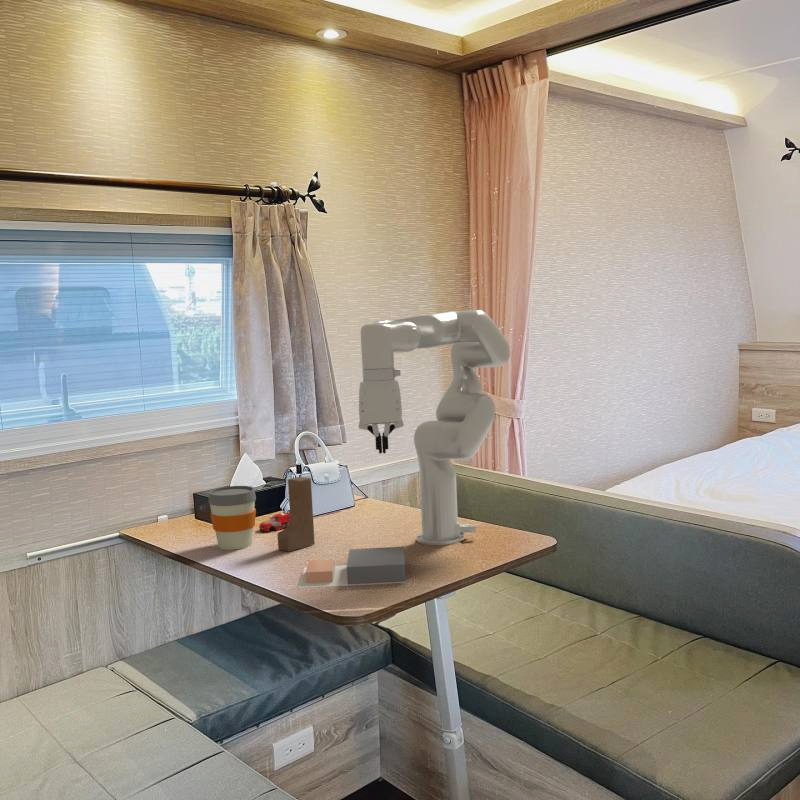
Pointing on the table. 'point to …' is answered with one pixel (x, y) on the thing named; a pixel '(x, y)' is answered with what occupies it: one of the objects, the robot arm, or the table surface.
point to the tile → (320, 571)
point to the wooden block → (298, 516)
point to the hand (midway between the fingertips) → (382, 452)
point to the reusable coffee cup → (233, 515)
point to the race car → (275, 522)
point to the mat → (338, 580)
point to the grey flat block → (376, 565)
